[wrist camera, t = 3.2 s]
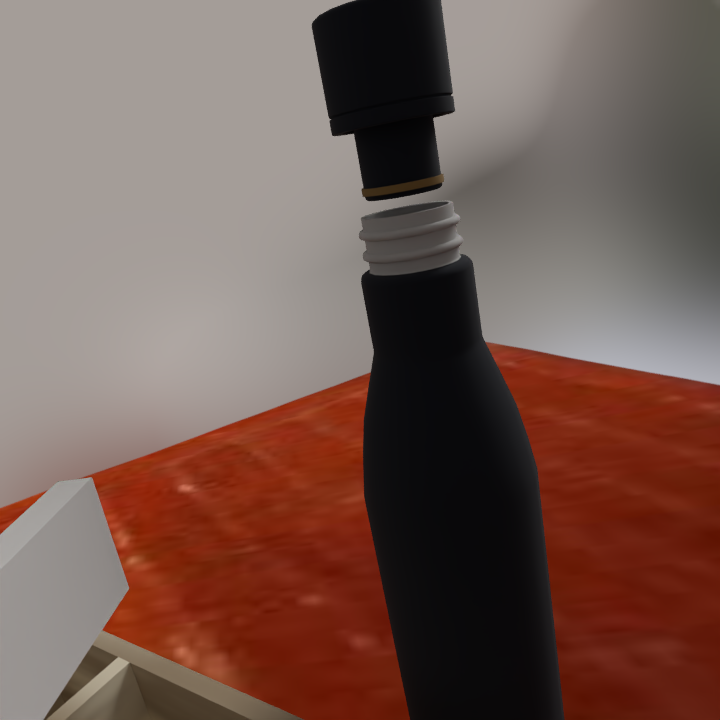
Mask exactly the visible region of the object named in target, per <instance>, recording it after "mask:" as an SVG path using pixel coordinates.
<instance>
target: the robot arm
mask: <svg viewBox="0 0 720 720" xmlns="http://www.w3.org/2000/svg"><path fill="white" fill-rule="evenodd" d="M128 589H129V587H128V584H127V581H126V578H125V575H124V572H123V569H122V566H121V563H120V560H119V557H118V554H117V551H116V548H115V545H114V542H113V539H112V536H111V533H110V530H109V527H108V524H107V521H106V518H105V515H104V512H103V509H102V506H101V503H100V500H99V497H98V494H97V491H96V488H95V485H94V482H93V480H92V478H83V479H75V480H67V481H58V482H57V483H56V484H55V485H54V486H53V487H51V488H50V489H49V490H48V491H47V492H46V493H45V494H44V495H43V496H42V497H41V498H39V499H38V500H37V501H36V502H35V503H34V504H33V505H32V506H31V507H30V508H29V509H28V510H26V511H25V512H24V513H23V514H22V515H21V516H20V517H19V518H18V519H17V520H16V521H15V522H13V523H12V524H11V525H10V526H9V527H8V528H7V529H6V530H5V531H4V532H3V533H2V534H1V535H0V720H44V718H45V716H46V715H47V713H48V712H49V710H50V709H51V707H52V706H53V704H54V703H55V701H56V700H57V698H58V697H59V695H60V693H61V692H62V690H63V689H64V687H65V686H66V684H67V683H68V681H69V680H70V678H71V677H72V675H73V674H74V672H75V671H76V669H77V667H78V666H79V664H80V663H81V661H82V660H83V658H84V657H85V655H86V654H87V652H88V651H89V649H90V648H91V646H92V644H93V643H94V641H95V640H96V638H97V637H98V635H99V634H100V632H101V631H102V629H103V628H104V626H105V625H106V623H107V621H108V620H109V618H110V617H111V615H112V614H113V612H114V611H115V609H116V608H117V606H118V605H119V603H120V602H121V600H122V599H123V597H124V595H125V594H126V592H127V591H128Z"/></svg>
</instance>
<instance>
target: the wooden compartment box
mask: <svg viewBox="0 0 720 720" xmlns="http://www.w3.org/2000/svg"><path fill="white" fill-rule="evenodd" d="M44 720H303V719H301V718H299V717H297V716H294V715H292V714H290V713H288V712H285V711H283V710H281V709H279V708H276V707H274V706H272V705H270V704H267V703H265V702H263V701H260V700H258V699H256V698H254V697H251V696H249V695H247V694H245V693H242V692H240V691H238V690H236V689H233V688H231V687H229V686H227V685H224V684H222V683H220V682H218V681H215V680H213V679H211V678H208V677H206V676H204V675H202V674H199V673H197V672H195V671H193V670H190V669H188V668H186V667H184V666H181V665H179V664H177V663H175V662H172V661H170V660H168V659H165V658H163V657H161V656H159V655H156V654H154V653H152V652H150V651H147V650H145V649H143V648H141V647H138V646H136V645H134V644H132V643H129V642H127V641H125V640H123V639H120V638H118V637H116V636H113V635H111V634H109V633H107V632H104V631H101V632H100V634H99V635H98V637H97V638H96V640H95V641H94V643H93V644H92V646H91V648H90V649H89V651H88V652H87V654H86V655H85V657H84V658H83V660H82V661H81V663H80V664H79V666H78V667H77V669H76V671H75V672H74V674H73V675H72V677H71V678H70V680H69V681H68V683H67V684H66V686H65V687H64V689H63V690H62V692H61V693H60V695H59V697H58V698H57V700H56V701H55V703H54V704H53V706H52V707H51V709H50V710H49V712H48V713H47V715H46V716H45V718H44Z"/></svg>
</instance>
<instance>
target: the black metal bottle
mask: <svg viewBox="0 0 720 720" xmlns="http://www.w3.org/2000/svg"><path fill="white" fill-rule="evenodd" d="M312 30H313V35H314V40H315V46H316V51H317V57H318V62H319V67H320V73H321V78H322V83H323V89H324V94H325V100H326V105H327V110H328V116H329V118H330V119H331V120H330V127H331V132H332V135H333V136H341V135H348V134H354V135H355V141H356V147H357V152H358V158H359V164H360V170H361V176H362V181H363V186H364V188H363V189H362V194H363V197H365V198H366V200H367V201H378V200H386V199H393V198H399V197H404V196H410V195H415V194H419V193H424V192H428V191H431V190H435V189H438V188H440V187H441V186H442V182H444V177H443V174H441V172H440V165H439V157H438V150H437V143H436V136H435V128H434V121H433V118H434V117H439V116H443V115H446V114H450V113H453V112H454V111H455V108H454V99H453V96H451V94H452V93H453V92H452V84H451V76H450V68H449V60H448V53H447V45H446V38H445V30H444V22H443V13H442V6H441V0H356V1H352V2H348V3H345V4H343V5H340V6H338V7H335V8H332V9H330V10H328V11H326V12H324V13H323V14H321V15H319V16H318V17H317V18H316V19H315V20H314V21H313V23H312ZM361 221H362V227H363V230H362V231H360V233H359V238H360V239H361V240H364V241H365V243H366V249H367V250H366V251H365V252H364V253H363V259H364V260H365V261H367V262H369V266H370V270H368V271H367V272H365V273H364V274H363V275H362V279H361V280H362V281H361V282H362V283H361V284H362V289H363V295H364V300H365V305H366V311H367V316H368V322H369V327H370V333H371V338H372V343H373V348H374V356H373V363H372V369H371V375H370V381H369V388H368V395H367V402H366V409H365V416H364V439H363V468H364V497H365V502H366V507H367V512H368V517H369V522H370V527H371V531H372V536H373V541H374V546H375V551H376V556H377V560H378V565H379V570H380V575H381V580H382V585H383V590H384V594H385V599H386V604H387V609H388V614H389V619H390V624H391V628H392V633H393V638H394V643H395V648H396V653H397V657H398V662H399V667H400V672H401V677H402V682H403V687H404V691H405V696H406V701H407V706H408V711H409V716H410V720H564V712H563V703H562V694H561V684H560V675H559V666H558V657H557V647H556V638H555V629H554V620H553V610H552V601H551V592H550V583H549V573H548V564H547V555H546V546H545V536H544V527H543V518H542V509H541V499H540V490H539V481H538V472H537V466H536V463H535V459H534V456H533V453H532V449H531V446H530V442H529V439H528V436H527V433H526V430H525V427H524V425H523V422H522V419H521V416H520V413H519V410H518V408H517V405H516V403H515V401H514V399H513V396H512V394H511V392H510V390H509V388H508V386H507V384H506V382H505V380H504V378H503V376H502V374H501V372H500V370H499V368H498V366H497V364H496V362H495V360H494V359H493V357H492V355H491V353H490V351H489V349H488V347H487V345H486V343H485V341H484V339H483V337H482V330H481V323H480V315H479V308H478V299H477V292H476V284H475V277H474V268H473V263H472V260H471V259H470V258H469V257H468V256H466V255H463V254H460V251H459V246H460V245H461V244H462V243H463V238H462V237H461V236H460V235H458V234H457V229H456V224H457V223H458V222H459V221H460V216H459V215H457V214H456V213H454V207H453V202H452V201H436V202H428V203H422V204H415V205H409V206H403V207H398V208H393V209H389V210H384V211H380V212H376V213H372V214H369V215H366V216H364V217H362V218H361Z"/></svg>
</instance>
